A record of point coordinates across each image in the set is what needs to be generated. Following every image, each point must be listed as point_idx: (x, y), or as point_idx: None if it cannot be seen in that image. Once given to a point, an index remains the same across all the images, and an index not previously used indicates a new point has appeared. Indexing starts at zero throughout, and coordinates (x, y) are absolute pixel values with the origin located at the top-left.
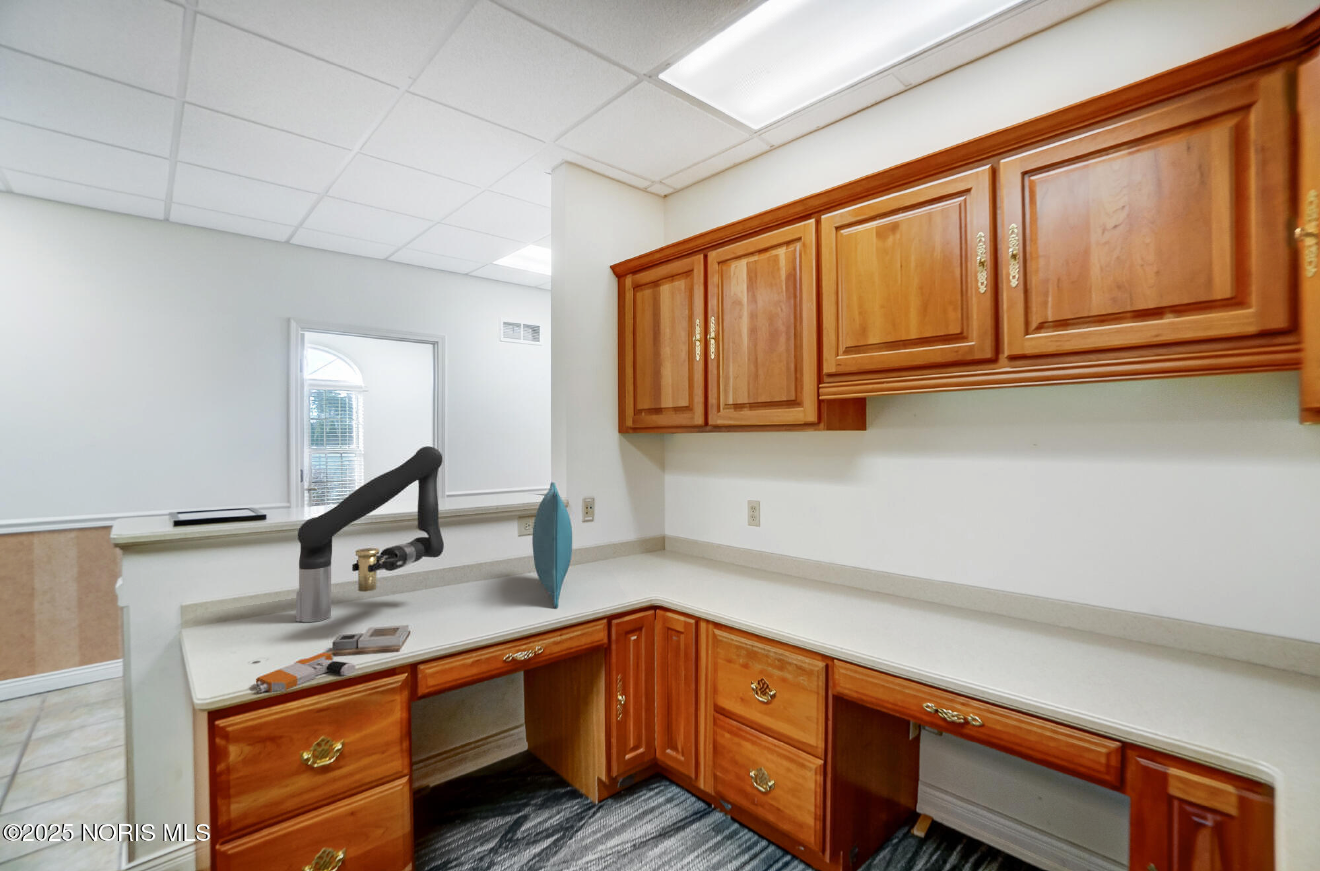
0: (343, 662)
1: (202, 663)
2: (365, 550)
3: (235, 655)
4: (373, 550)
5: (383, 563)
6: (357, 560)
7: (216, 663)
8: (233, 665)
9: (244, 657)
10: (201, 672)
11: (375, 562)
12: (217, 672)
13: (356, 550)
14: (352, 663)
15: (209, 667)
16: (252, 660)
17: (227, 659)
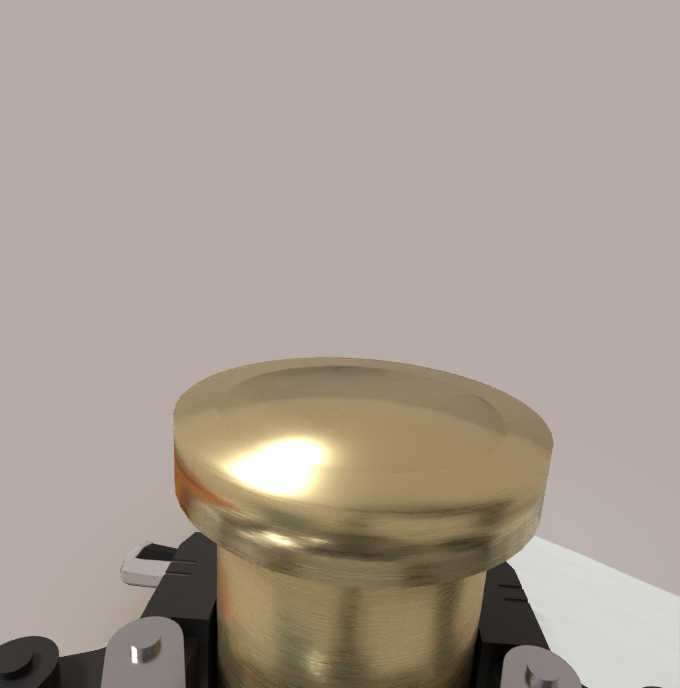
0: (162, 559)
1: (657, 593)
2: (372, 395)
3: (661, 654)
4: (244, 398)
5: (91, 672)
6: (652, 686)
7: (618, 597)
8: (549, 591)
9: (604, 643)
10: (568, 552)
11: (217, 593)
12: (528, 555)
13: (505, 395)
14: (128, 557)
15: (595, 575)
16: (543, 625)
17: (633, 624)
